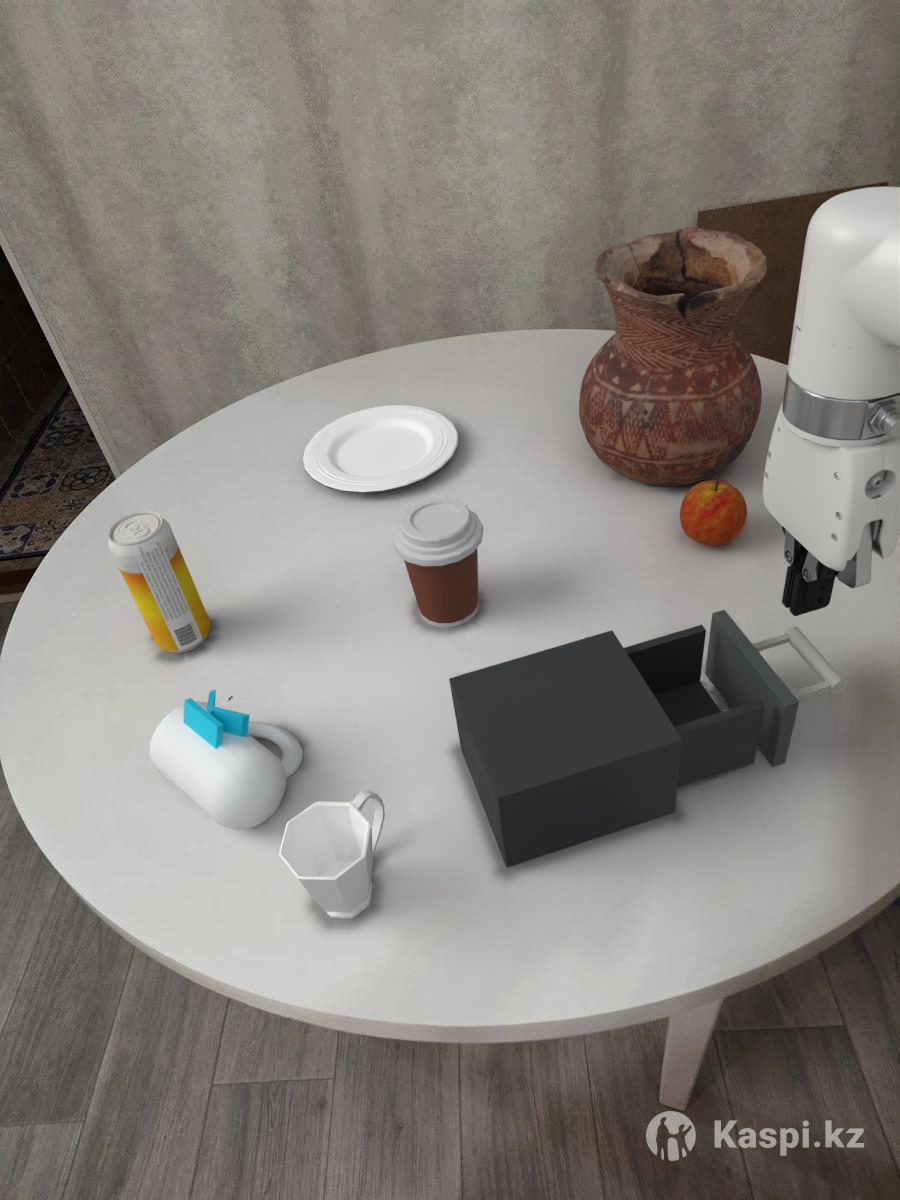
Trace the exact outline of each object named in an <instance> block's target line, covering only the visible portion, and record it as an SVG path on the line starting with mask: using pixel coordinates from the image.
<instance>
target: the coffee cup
mask: <svg viewBox="0 0 900 1200" xmlns="http://www.w3.org/2000/svg"><path fill="white" fill-rule="evenodd" d="M391 535H392V536H391V542H392V545H393V548H394V551H395V554H396V555H397V556H398V557H400V558H402V559H403V561H404V564H405V568H406V571H407V574H408V578H409V581H410V584H411V587H412V591H413V594H414V597H415V601H416V604H417V608H418V612H419V614H420V617H421V620H423V621H424V622H426V624H428V625H430V626H433V627H436V628H441V629H442V628H443V629H445V628H446V629H447V628H448V629H449V628H455V627H458V626H462V625H464V624H465V623H468V622H469V621H471V620H473V618H474V617H475V615H476V614H477V613H478V611H479V604H480V600H479V560H478V554H479V553H478V548H479V546H480V545H481V544H482V542H483V536H484V525H483V523H482V521H481V520H480V517H479V516H478V515H477V513H475V512H473V511H472V510H470V509H469V507H468V505H467V504H465V503H463V502H462V501H460V500H459V499H457V498H451V497H448V496H433V497H432V496H431V497H428V498H425V499H420V500H419V501H416V502H415V503H413V504H411V505H409V506H408V507H407V508H406V509H405V510H404V511H403V513H401V516H400V519H399V520H398V522H397V523H396V524H395V525H394V528H393V532H392V534H391Z"/></svg>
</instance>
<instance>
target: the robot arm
mask: <svg viewBox="0 0 900 1200" xmlns="http://www.w3.org/2000/svg"><path fill="white" fill-rule="evenodd" d="M809 221H810V222H809V224H808V226H807V231H806V236H805V240H804V248H803V254H802V255H803V256H802V263H801V271H800V277H799V284H798V291H797V299H796V305H795V312H794V321H793V327H792V328H793V329H792V335H791V341H790V348H789V355H788V362H787V370H786V371H787V372H786V377H785V384H784V391H783V397H782V402H781V404H780V407H779V410H778V412H777V416H776V418H775V423H774V426H773V430H772V433H771V437H770V442H769V446H768V451H767V455H766V460H765V466H764V472H763V473H764V474H763V482H762V501H763V504H764V506H765V509H767V511H768V513H770V515H771V516H772V517H773V518H774V519H775V520H776V521H777V522H778V523H779V524H780V525H781V531H782V532H783V535H784V545H783V547H784V548H783V555H784V556H783V557H784V558H785V561H786V562H787V564H788V566H787V568H786V573H785V580H784V585H783V592H782V599H781V604H782V605H783V606H784V607H785V608H787V609H789V613H790V614H791V615H792V616H793V617H798V616H802V615H805V614H808V613H811V612H815V611H818V610H821V609H825V608H826V607H827V606H829V605H830V603H831V598H832V595H833V590H834V585H835V582H836V581H835V580H836V578H837V580H838V581H839V582H840V583H843V584H844V585H846V586H847V587H848V588H851V589H856V588H859V587H862V586H865V585H868V584H869V585H870V583H871V581H872V564H873V563H872V562H873V561H872V560H873V553H875V554H877V555H878V556H879V558H881V559H882V560H884V559H886V558H890V557H892V556H893V554H894V553H895V551H896V547H897V545H898V542H899V537H900V186H870V187H864V188H858V189H853V190H849V191H845V192H842V193H838V194H837V195H834V196H832V197H831V198H829V199H827V200H826V201H825V202H823V203H822V204H821V205H820V206H819V207H818V208H817V209H816V211H814V213H813V214H812V216H811V218H810V220H809Z"/></svg>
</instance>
